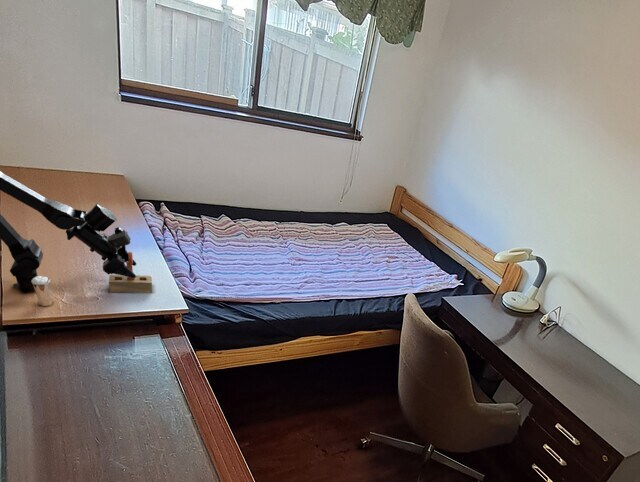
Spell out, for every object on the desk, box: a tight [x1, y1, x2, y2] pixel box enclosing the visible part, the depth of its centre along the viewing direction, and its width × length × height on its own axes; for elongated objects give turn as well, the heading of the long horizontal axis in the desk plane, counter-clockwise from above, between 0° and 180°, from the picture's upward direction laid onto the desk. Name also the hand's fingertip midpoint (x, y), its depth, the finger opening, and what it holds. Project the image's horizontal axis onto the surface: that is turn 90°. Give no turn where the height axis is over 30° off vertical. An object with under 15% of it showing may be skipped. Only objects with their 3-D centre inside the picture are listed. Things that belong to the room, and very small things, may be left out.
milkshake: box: [31, 275, 53, 307], centre depth 140 cm, size 4×5×10 cm
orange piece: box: [125, 251, 134, 280], centre depth 156 cm, size 2×4×14 cm, turn 23°
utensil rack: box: [108, 274, 153, 294], centre depth 159 cm, size 5×13×4 cm, turn 113°
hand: (135, 270), depth 157 cm, fingers open, 9 cm apart
